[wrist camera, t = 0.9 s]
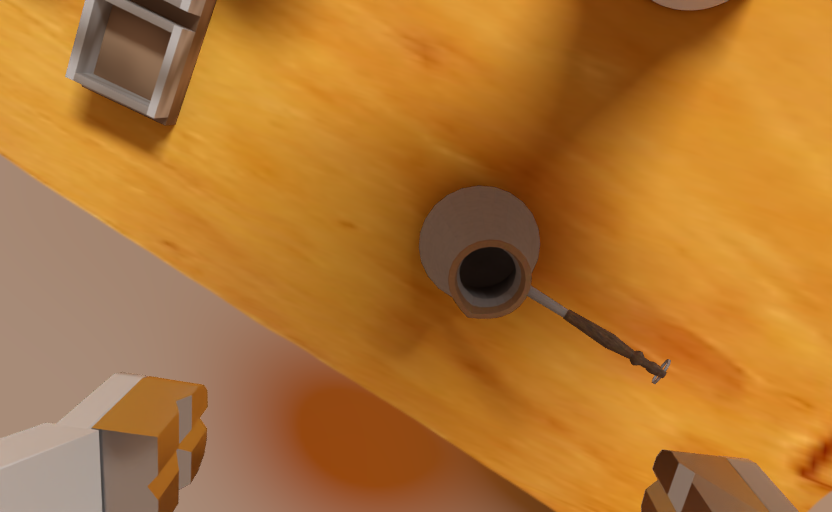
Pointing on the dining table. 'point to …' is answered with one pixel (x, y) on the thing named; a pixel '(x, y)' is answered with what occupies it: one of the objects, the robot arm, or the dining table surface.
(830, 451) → the dining table surface
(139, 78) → the two-compartment tray
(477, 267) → the coffee pot
